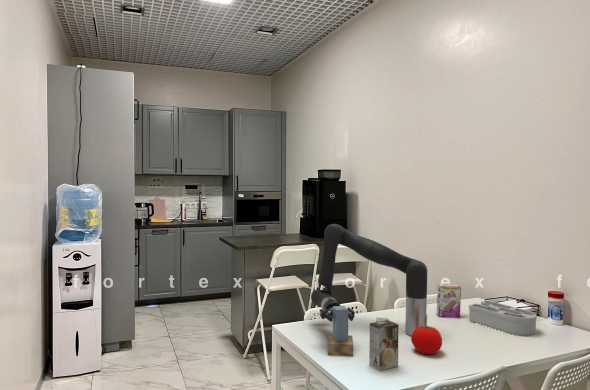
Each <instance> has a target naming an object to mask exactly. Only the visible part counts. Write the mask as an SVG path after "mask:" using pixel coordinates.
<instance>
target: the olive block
mask: <svg viewBox="0 0 590 390" xmlns="http://www.w3.org/2000/svg"><path fill="white" fill-rule="evenodd" d="M385 320H389V321H390V318H387V317H376V321H375V322H380V321H385Z"/></svg>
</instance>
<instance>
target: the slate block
mask: <svg viewBox="0 0 590 390" xmlns="http://www.w3.org/2000/svg"><path fill="white" fill-rule="evenodd" d="M332 335H333V338H334V339H335V341H336V342H341V341H348V335H349V319H348V307H346V306H345V305H341V306H333V319H332Z"/></svg>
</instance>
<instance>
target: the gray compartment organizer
mask: <svg viewBox="0 0 590 390" xmlns="http://www.w3.org/2000/svg"><path fill="white" fill-rule="evenodd" d="M468 309H469V310H468V311H469V313H468V314H469V315H468V316H469V317H468V321H469V322H470V321H471V322H470V323H472V322H474V323H473V324H475V323H478V324H481V325H480V326H482V325H484V326H483V327H485V326H487V327H486V328H488V327H490V328H489V329H492V328H493V329H492V330H495V329H496V331H498V330H500V331H499V332H501V331H503V332H502V333H505V332H506V333H505V334H508V333H509V335H512V334H514V335H513V336H517V335H520V336H519V337H531V335H532V336H534V335H535V334H536V330H537V314H536V313H535V312H534V311H531V310H528V309H523V308H519V307H514V306H510V305H507V304H502V303H499V302H495V301H491V300H484V301H480V304H479V303H472V304H469V305H468ZM478 324H477V325H478Z"/></svg>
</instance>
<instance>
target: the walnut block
mask: <svg viewBox="0 0 590 390" xmlns="http://www.w3.org/2000/svg"><path fill="white" fill-rule="evenodd" d="M353 338H354V337H353V335H349V334H348V341H341V342H336V341H335V339H334V338H333V334H328V337H327V355H328V356H342V357H344V356H345V357H354V340H353Z"/></svg>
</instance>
